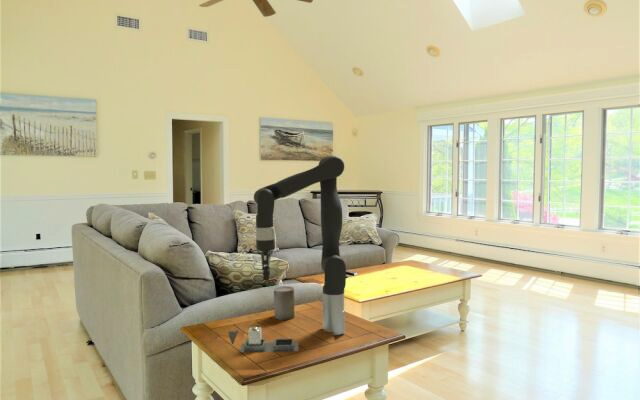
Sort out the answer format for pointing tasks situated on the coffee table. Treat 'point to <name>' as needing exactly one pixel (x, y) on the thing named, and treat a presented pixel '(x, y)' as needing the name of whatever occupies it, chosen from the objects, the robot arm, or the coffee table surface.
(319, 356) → the coffee table surface
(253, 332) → the metal block with knob
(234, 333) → the smartphone
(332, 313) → the robot arm
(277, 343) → the block holder
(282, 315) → the pillar candle
